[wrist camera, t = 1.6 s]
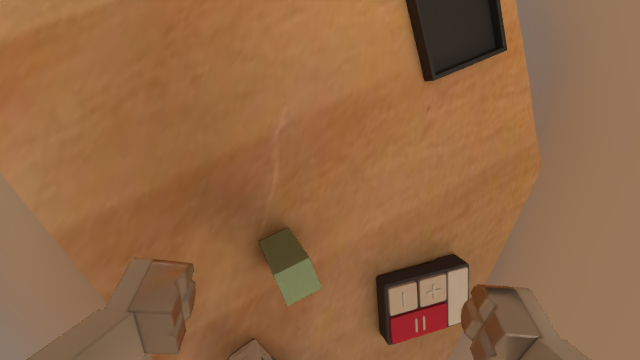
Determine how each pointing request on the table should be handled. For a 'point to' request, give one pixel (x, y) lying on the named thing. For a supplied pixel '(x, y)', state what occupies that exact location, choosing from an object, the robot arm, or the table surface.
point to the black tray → (455, 33)
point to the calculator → (422, 298)
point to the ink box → (251, 352)
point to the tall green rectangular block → (290, 266)
